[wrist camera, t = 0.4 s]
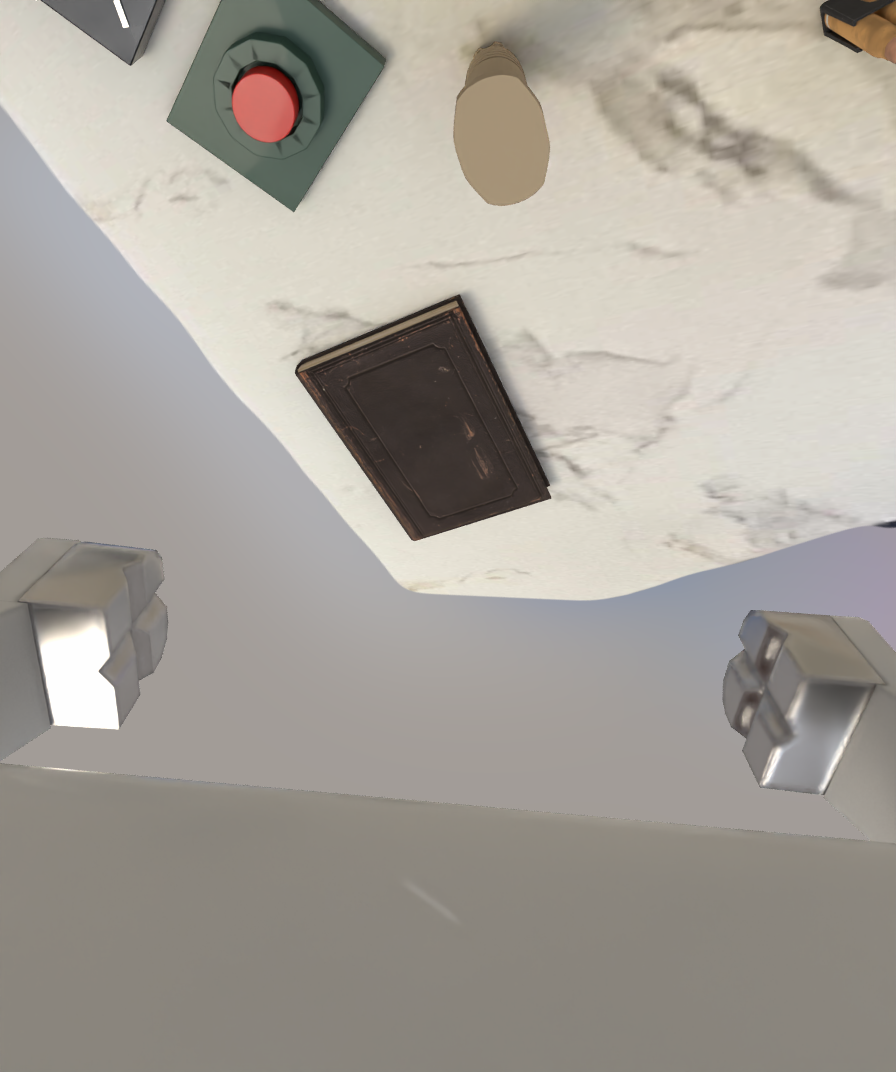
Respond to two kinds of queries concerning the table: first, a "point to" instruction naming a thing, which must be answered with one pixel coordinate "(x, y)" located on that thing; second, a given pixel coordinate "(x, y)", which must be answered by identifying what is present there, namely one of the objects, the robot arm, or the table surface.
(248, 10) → the button box
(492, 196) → the handle
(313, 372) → the hardcover book
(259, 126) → the button
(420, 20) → the table surface
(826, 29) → the ammunition clip
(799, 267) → the table surface
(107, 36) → the control panel
